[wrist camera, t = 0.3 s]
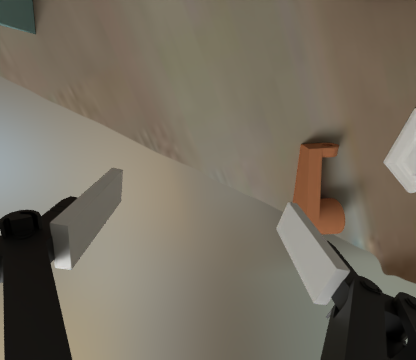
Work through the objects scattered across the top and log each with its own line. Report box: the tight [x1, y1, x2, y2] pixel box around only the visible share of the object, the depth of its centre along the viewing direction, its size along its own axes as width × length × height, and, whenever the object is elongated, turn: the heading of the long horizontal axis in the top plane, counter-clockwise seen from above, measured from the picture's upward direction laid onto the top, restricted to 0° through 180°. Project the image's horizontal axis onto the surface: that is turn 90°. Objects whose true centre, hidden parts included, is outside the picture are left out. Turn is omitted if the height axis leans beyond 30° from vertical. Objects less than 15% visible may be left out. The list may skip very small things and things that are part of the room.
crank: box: [293, 143, 345, 234], centre depth 44 cm, size 20×8×8 cm, turn 3°
